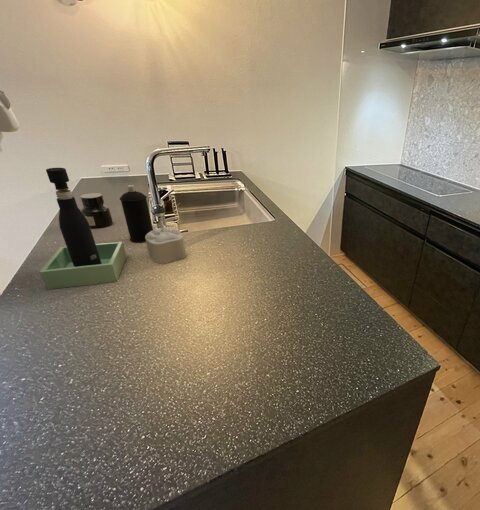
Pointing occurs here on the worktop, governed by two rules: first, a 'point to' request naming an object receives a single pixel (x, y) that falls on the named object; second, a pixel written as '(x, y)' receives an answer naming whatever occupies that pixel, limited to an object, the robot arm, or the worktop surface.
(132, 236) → the aerosol can
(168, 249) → the lumpy-topped squat cylinder
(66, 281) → the green square tray
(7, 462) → the worktop surface
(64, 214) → the black water bottle
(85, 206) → the ink bottle
